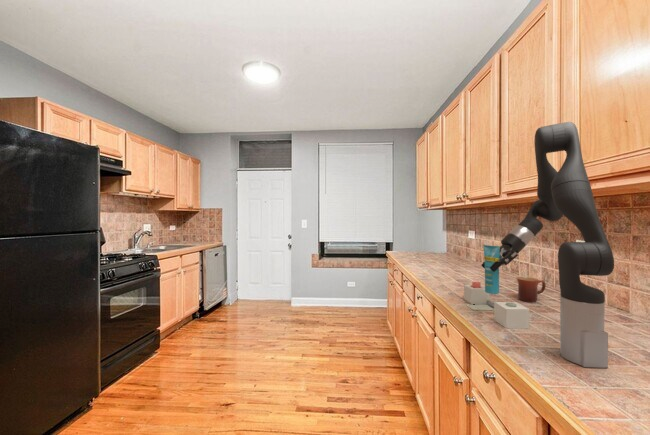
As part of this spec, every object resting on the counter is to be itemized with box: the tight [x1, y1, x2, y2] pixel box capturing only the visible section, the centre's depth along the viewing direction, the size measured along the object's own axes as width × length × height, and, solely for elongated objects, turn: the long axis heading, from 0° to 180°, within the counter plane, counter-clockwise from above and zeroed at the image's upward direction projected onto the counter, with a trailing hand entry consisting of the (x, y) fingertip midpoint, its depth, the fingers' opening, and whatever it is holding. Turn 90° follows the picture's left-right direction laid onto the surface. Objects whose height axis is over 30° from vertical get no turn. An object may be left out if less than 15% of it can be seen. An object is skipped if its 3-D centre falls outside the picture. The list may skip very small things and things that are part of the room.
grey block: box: [463, 284, 491, 305], centre depth 131 cm, size 8×8×7 cm
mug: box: [516, 276, 546, 303], centre depth 132 cm, size 12×9×10 cm
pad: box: [466, 304, 494, 311], centre depth 123 cm, size 6×9×1 cm, turn 87°
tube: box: [483, 244, 501, 295], centre depth 113 cm, size 7×5×19 cm, turn 23°
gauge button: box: [471, 281, 482, 288], centre depth 131 cm, size 3×3×4 cm
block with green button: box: [493, 301, 530, 330], centre depth 104 cm, size 8×8×8 cm
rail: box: [487, 298, 497, 309], centre depth 118 cm, size 18×2×2 cm, turn 177°
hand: (487, 268), depth 113 cm, fingers closed on tube, 6 cm apart
